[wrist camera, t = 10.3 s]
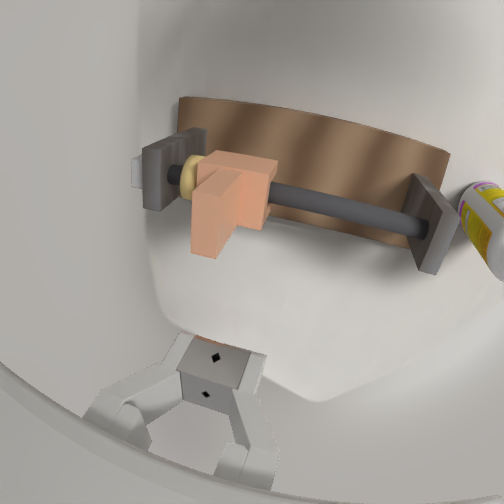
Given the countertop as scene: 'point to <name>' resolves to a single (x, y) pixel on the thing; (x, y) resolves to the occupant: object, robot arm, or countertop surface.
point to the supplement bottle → (485, 222)
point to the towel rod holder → (315, 167)
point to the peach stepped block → (228, 198)
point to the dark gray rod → (301, 201)
